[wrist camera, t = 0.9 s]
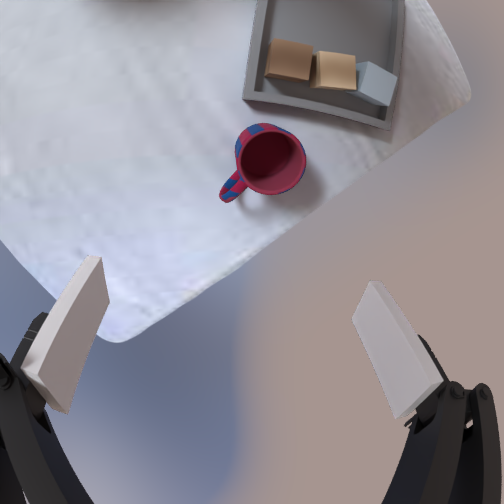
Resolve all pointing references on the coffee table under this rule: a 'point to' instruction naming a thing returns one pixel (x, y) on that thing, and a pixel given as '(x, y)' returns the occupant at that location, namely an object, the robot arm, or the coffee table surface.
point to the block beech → (333, 71)
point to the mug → (265, 162)
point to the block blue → (373, 84)
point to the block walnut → (288, 60)
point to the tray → (329, 40)
